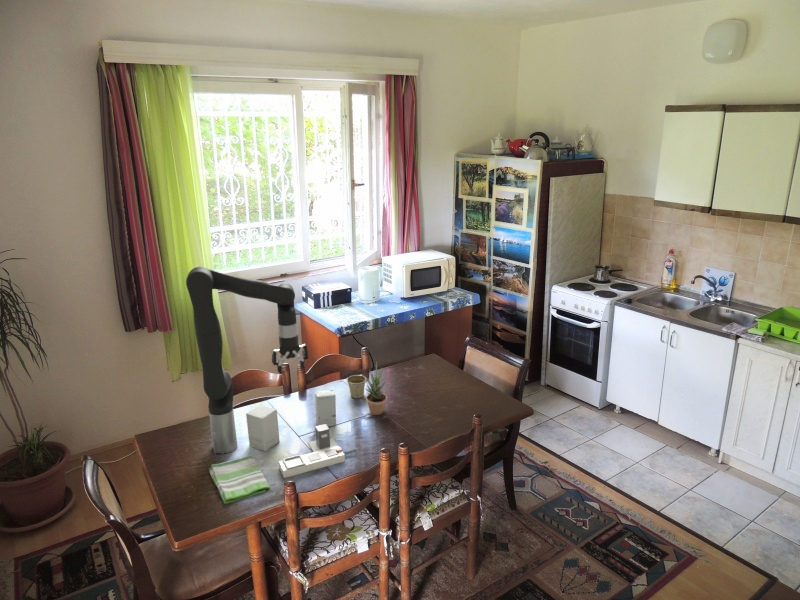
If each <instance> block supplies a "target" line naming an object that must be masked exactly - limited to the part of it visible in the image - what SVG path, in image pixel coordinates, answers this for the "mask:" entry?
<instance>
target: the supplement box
mask: <svg viewBox="0 0 800 600" xmlns="http://www.w3.org/2000/svg"><path fill="white" fill-rule="evenodd" d="M245 415H246V426H247V434H248V435H247V436H248V441H249V447H252V448H255V449H257V450H260V451H262V452H267V451H268V450H269V449H270V448H273V447H274V446H275V445H277V444H278V443H280V440H281V439H280V431H279V422H278V420H279V419H278V410H277V409H276V408H273V407H269V406H266V405H263V404H260V405H258V406H256V407H255V408H252V409H251V410H249V411H248V412H246V413H245Z"/></svg>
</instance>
